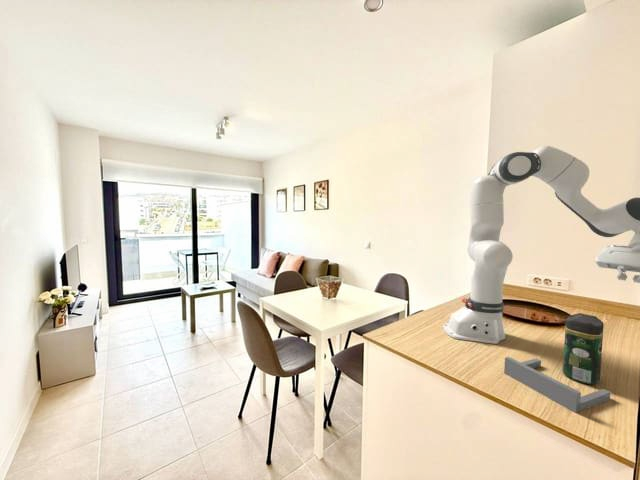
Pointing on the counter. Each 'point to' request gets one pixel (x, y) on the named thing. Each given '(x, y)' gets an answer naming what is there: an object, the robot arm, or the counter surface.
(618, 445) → the counter surface
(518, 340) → the counter surface
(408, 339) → the counter surface
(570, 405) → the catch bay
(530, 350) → the counter surface
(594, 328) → the coffee jar
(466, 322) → the robot arm
